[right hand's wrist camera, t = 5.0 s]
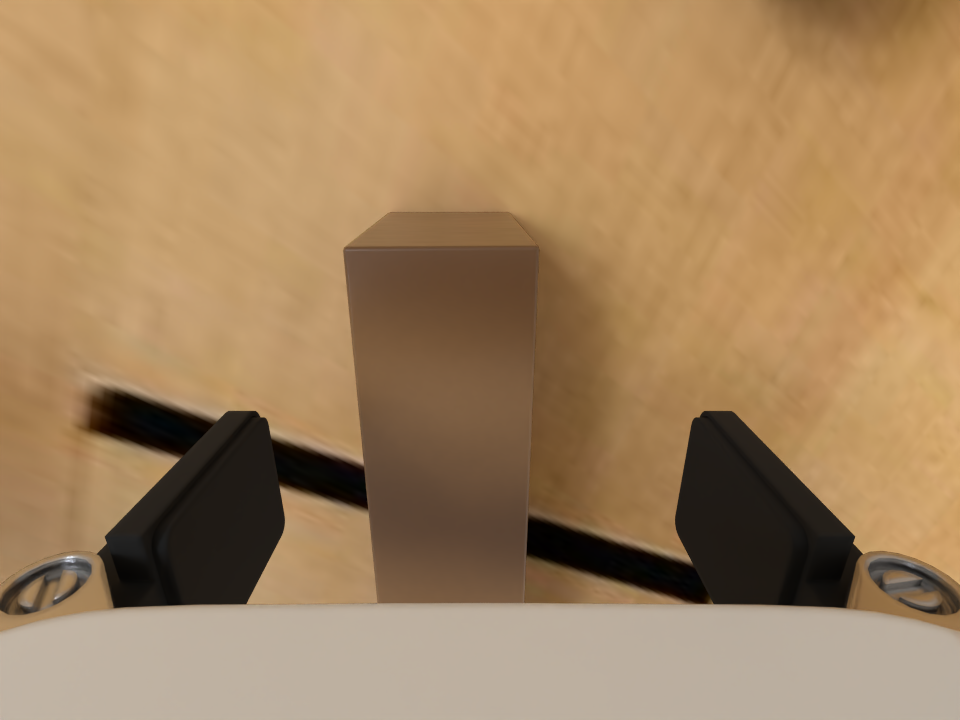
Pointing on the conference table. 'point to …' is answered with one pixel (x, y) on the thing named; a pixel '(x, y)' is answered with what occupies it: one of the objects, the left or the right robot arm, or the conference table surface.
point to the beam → (445, 401)
